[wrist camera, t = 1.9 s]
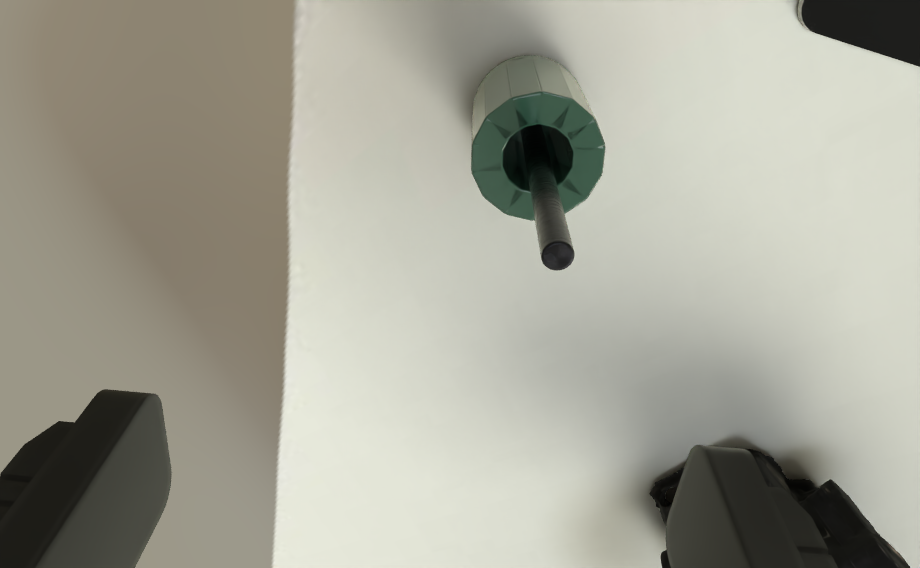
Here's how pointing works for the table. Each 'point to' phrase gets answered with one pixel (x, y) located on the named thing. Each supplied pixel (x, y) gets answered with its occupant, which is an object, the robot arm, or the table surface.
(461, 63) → the table surface
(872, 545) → the movie camera
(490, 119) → the holder
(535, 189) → the stylus
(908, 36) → the tablet
